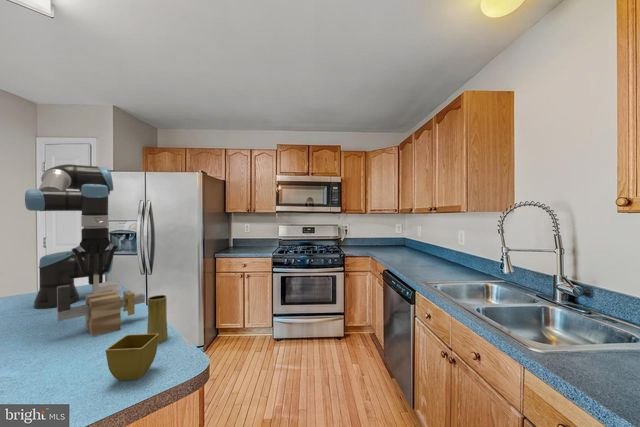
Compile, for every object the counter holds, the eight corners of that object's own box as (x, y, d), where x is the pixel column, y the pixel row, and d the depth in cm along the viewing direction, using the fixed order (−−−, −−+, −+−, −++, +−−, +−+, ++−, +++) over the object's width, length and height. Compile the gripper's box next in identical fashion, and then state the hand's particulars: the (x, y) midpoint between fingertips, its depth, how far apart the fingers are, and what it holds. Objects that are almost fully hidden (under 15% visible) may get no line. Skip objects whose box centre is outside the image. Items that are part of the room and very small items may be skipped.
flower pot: (126, 366, 76) (126, 334, 76) (159, 364, 77) (159, 332, 76) (104, 386, 67) (104, 350, 67) (142, 384, 68) (141, 348, 68)
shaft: (57, 318, 92) (56, 286, 92) (142, 300, 111) (142, 273, 111) (58, 321, 90) (57, 288, 90) (144, 302, 109) (144, 274, 109)
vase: (172, 337, 93) (172, 295, 93) (156, 345, 87) (155, 301, 87) (158, 334, 95) (158, 293, 95) (142, 342, 89) (141, 299, 89)
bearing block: (85, 326, 101) (85, 294, 101) (112, 320, 107) (112, 289, 107) (92, 336, 93) (91, 301, 93) (120, 329, 99) (120, 296, 99)
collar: (123, 311, 108) (123, 291, 108) (129, 309, 109) (129, 290, 109) (128, 315, 103) (128, 294, 103) (134, 314, 105) (134, 293, 105)
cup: (126, 308, 121) (125, 281, 121) (108, 316, 112) (108, 286, 112) (107, 307, 122) (107, 280, 122) (88, 315, 113) (88, 286, 113)
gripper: (72, 228, 91) (73, 299, 91) (119, 227, 101) (120, 290, 101) (69, 227, 96) (69, 294, 96) (114, 226, 106) (115, 287, 106)
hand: (95, 292), depth 99 cm, fingers closed
